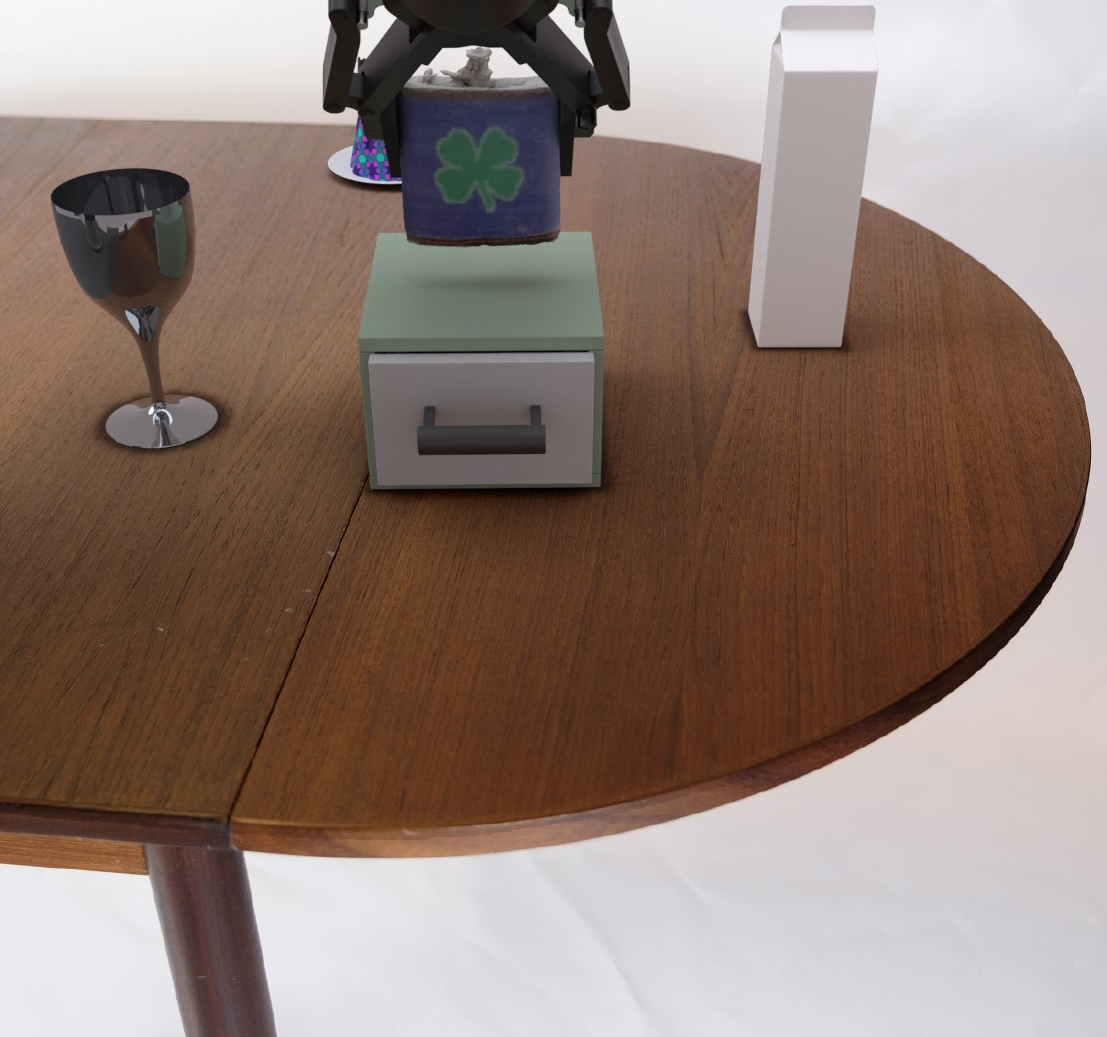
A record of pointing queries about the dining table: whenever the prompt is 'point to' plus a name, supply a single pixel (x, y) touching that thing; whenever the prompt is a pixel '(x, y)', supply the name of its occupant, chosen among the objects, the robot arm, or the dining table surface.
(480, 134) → the flask
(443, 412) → the drawer
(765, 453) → the dining table surface
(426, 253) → the cabinet
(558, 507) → the dining table surface
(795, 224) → the milk
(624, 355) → the dining table surface
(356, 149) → the pudding
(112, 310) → the wine glass
